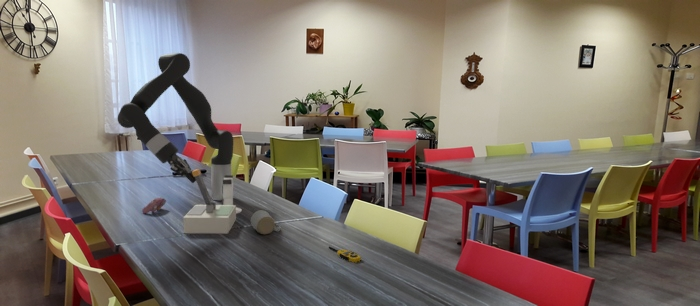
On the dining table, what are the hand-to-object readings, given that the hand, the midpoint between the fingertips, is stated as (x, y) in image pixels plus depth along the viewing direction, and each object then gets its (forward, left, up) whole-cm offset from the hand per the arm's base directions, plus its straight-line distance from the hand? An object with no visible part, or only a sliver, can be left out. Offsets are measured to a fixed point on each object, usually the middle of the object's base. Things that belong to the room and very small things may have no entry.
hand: (195, 181), depth 167 cm
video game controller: (0, -30, -18) cm, 35 cm away
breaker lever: (-4, +4, -11) cm, 12 cm away
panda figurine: (-22, -8, -18) cm, 29 cm away
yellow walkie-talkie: (-16, +61, -18) cm, 65 cm away
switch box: (-4, +4, -18) cm, 19 cm away
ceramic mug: (-14, +24, -18) cm, 34 cm away
